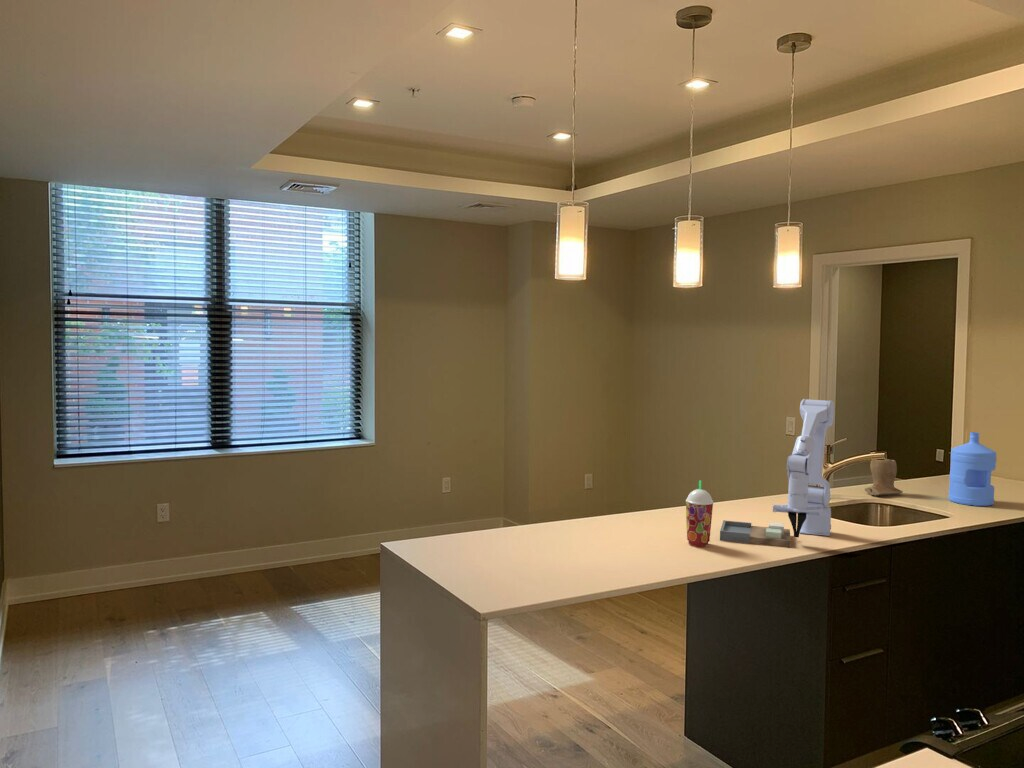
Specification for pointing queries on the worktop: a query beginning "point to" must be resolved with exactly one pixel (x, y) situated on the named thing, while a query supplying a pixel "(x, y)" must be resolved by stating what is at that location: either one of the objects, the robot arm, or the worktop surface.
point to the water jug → (972, 473)
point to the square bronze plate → (760, 538)
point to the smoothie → (699, 517)
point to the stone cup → (883, 478)
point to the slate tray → (735, 531)
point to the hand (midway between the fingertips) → (796, 536)
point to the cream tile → (777, 526)
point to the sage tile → (773, 533)
